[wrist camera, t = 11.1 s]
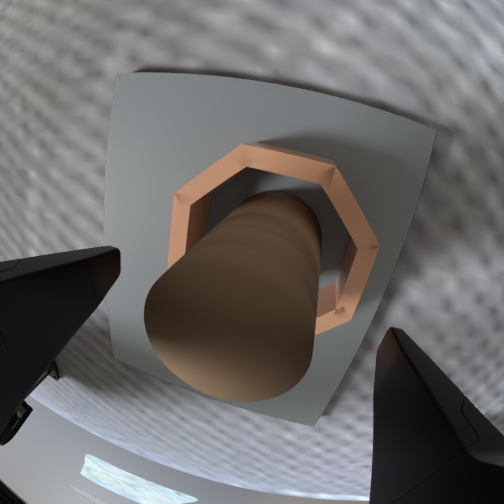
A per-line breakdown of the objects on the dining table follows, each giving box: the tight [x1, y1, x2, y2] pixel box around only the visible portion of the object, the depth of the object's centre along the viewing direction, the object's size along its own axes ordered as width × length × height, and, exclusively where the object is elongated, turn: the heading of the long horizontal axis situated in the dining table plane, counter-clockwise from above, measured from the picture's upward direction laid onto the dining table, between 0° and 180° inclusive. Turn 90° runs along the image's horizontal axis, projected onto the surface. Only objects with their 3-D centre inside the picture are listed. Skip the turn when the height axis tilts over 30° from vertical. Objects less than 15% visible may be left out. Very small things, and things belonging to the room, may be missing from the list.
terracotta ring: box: [167, 142, 380, 335], centre depth 13 cm, size 8×8×2 cm
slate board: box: [104, 73, 437, 426], centre depth 16 cm, size 20×16×1 cm
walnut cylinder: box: [144, 191, 322, 402], centre depth 11 cm, size 4×4×8 cm
